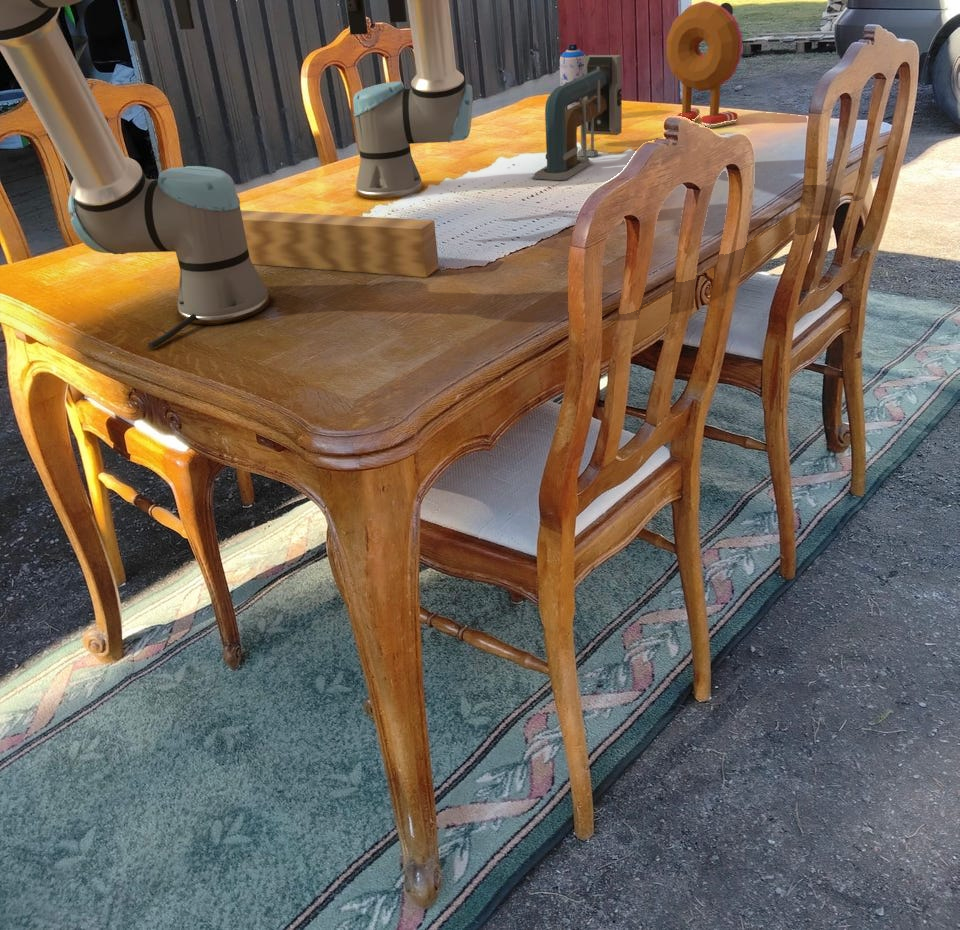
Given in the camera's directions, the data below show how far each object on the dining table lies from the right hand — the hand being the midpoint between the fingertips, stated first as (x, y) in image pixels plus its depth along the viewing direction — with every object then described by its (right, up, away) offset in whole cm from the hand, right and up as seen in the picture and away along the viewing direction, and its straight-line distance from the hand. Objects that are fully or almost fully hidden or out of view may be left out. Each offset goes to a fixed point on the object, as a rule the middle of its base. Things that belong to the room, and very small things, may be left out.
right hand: (379, 28), depth 156 cm
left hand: (-40, +6, +16) cm, 44 cm away
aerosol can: (+43, +29, +122) cm, 133 cm away
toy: (+76, +22, +106) cm, 132 cm away
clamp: (+40, +4, +80) cm, 90 cm away
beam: (-17, -32, +29) cm, 46 cm away
